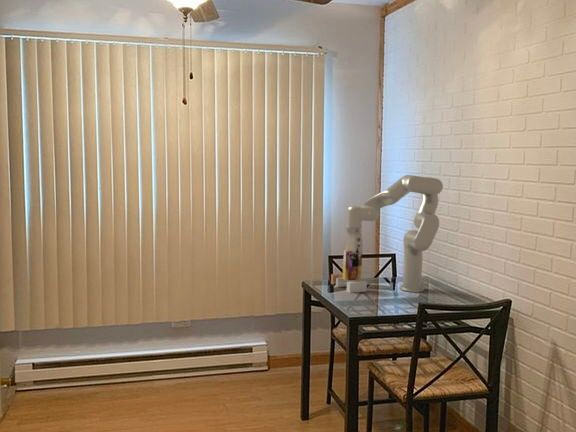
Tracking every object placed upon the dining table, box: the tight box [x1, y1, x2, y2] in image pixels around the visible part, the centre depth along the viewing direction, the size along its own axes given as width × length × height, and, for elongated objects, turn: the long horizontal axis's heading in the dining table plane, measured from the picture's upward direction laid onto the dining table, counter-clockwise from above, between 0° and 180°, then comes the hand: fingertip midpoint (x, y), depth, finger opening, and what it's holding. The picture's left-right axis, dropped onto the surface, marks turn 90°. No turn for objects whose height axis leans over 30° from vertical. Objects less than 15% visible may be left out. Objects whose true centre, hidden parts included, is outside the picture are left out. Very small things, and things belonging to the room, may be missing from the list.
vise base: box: [346, 280, 368, 294], centre depth 317 cm, size 14×22×6 cm, turn 25°
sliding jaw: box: [330, 273, 356, 288], centre depth 322 cm, size 10×9×5 cm
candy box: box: [342, 249, 363, 281], centre depth 312 cm, size 9×4×15 cm, turn 103°
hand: (352, 265), depth 312 cm, fingers closed on candy box, 4 cm apart
